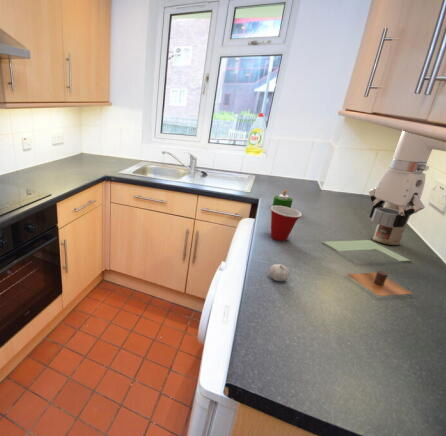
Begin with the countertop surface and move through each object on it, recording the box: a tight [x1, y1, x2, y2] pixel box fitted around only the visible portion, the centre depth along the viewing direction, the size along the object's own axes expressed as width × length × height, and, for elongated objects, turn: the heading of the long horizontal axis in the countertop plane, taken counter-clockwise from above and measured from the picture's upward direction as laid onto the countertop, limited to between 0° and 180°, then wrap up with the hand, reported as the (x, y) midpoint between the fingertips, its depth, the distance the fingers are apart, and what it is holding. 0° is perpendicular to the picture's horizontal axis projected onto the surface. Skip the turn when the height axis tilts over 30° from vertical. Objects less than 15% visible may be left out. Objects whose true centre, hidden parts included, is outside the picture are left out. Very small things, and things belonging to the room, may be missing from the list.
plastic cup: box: [270, 205, 303, 242], centre depth 115 cm, size 11×11×12 cm
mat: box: [322, 239, 411, 263], centre depth 108 cm, size 20×16×1 cm
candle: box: [271, 189, 294, 208], centre depth 148 cm, size 8×8×10 cm
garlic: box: [269, 263, 291, 282], centre depth 89 cm, size 6×5×5 cm
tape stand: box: [346, 270, 414, 297], centre depth 87 cm, size 11×11×4 cm
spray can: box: [372, 202, 414, 246], centre depth 113 cm, size 8×8×20 cm
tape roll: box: [370, 207, 400, 227], centre depth 93 cm, size 7×7×4 cm
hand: (385, 221), depth 94 cm, fingers closed on tape roll, 7 cm apart
